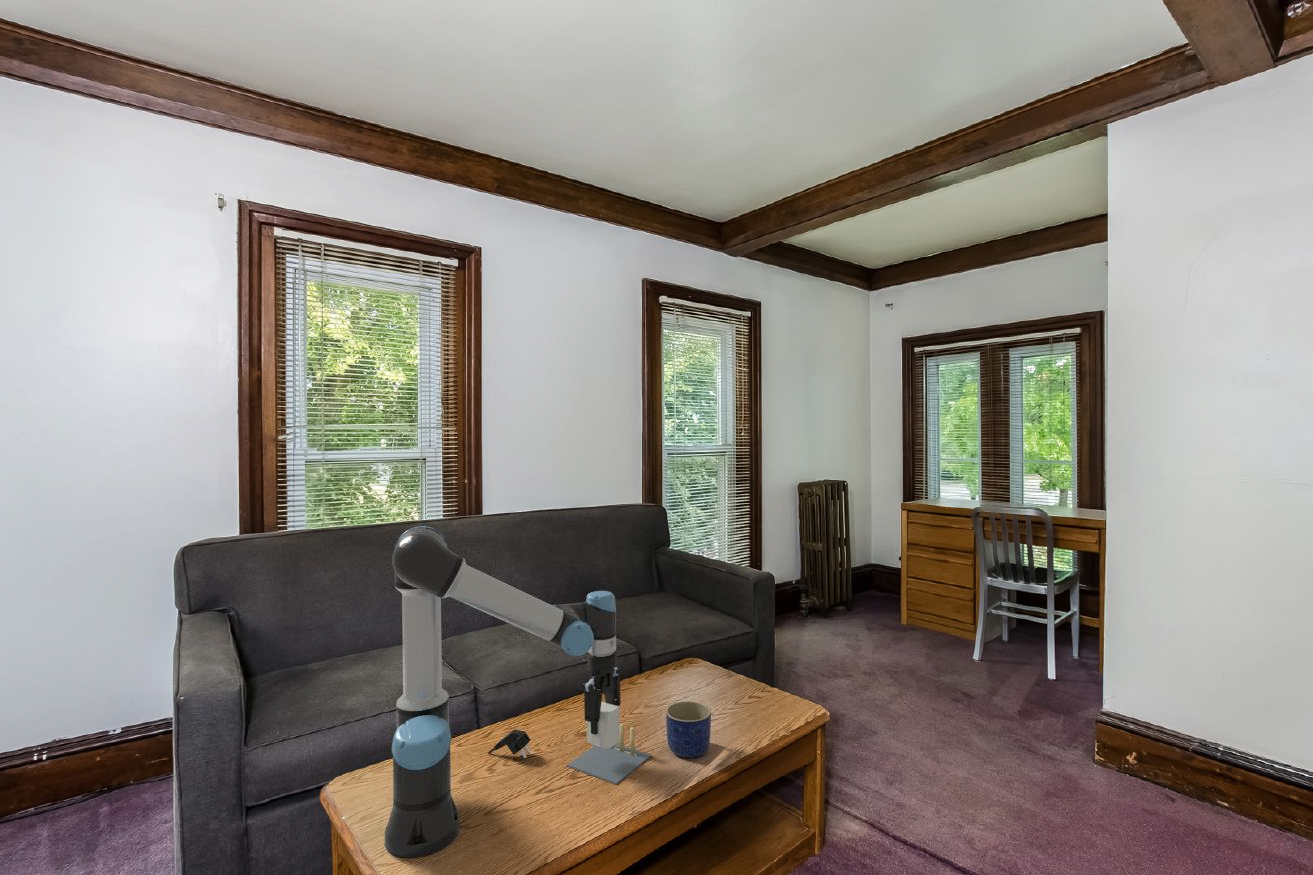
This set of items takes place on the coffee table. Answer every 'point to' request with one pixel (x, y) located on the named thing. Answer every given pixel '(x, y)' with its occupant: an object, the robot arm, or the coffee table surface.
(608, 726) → the block
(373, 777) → the coffee table surface
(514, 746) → the power plug
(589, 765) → the board
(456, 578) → the robot arm
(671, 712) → the planter
